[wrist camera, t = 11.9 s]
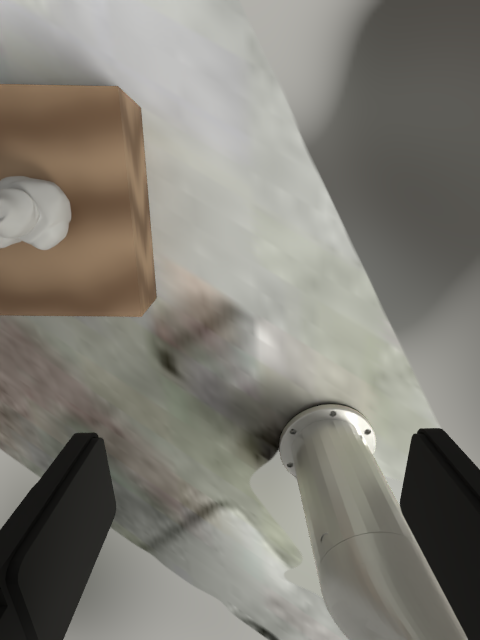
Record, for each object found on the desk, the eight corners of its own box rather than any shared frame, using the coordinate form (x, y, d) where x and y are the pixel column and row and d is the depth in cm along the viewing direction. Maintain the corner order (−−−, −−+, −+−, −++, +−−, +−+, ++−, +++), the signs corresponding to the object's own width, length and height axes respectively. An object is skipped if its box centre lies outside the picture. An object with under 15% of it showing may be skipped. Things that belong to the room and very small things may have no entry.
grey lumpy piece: (96, 219, 27) (42, 227, 19) (41, 263, 28) (-30, 287, 21) (48, 159, 25) (-31, 143, 18) (-8, 209, 26) (-105, 214, 19)
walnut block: (156, 297, 35) (141, 316, 30) (29, 296, 35) (-10, 315, 30) (140, 107, 29) (118, 86, 23) (-15, 104, 29) (-76, 82, 23)
